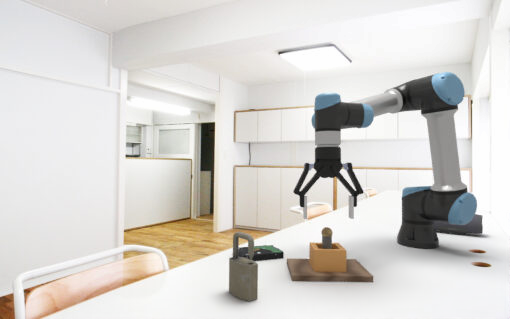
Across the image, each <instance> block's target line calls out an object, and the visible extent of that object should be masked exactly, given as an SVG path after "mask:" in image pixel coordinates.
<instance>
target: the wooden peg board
mask: <svg viewBox="0 0 510 319" xmlns="http://www.w3.org/2000/svg"><path fill="white" fill-rule="evenodd" d="M320 232H321V243H322V249H332V243H333V242H332V241H333V239H332V238H333V230H332V228H330V227H327V226H326V227H323V228H322V230H321V231H320ZM286 265H287V268H288V271H289V274H290V275H289V276H290V277H291V278H290V279H291V281H292V282H338V281H339V283H340V281H341V282H343V281H344V282H345V283H346V281H347V283H349V282H351V283H355V282H358V283H374V275H373V274H372V273H370V272H369V271H368V270H367V268H366V267H365V266H364V265H363V264H361V262H359V261H358V260H357V259H356V258H355V259H353V258H351V259H350V258H346V272H316V271H314V270H313V268H312V266H311V264H310V262H309V258H292V257H291V258H286Z"/></svg>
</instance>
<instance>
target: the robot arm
mask: <svg viewBox="0 0 510 319" xmlns="http://www.w3.org/2000/svg"><path fill="white" fill-rule="evenodd" d="M464 97H465V87H464V84H463V82H462V80H461V79H460V77H459V76H458V75H457V74H455V73H454V72H449V71H446V72H445V71H444V72H439V73H435V74H431V75H427V76H424V77H421V78H416V79H413V80H409V81H406V82H404V83H402V84H399V85H396V86H394V87H392V88H389V89H386V90H385V91H383V93H380V94H376V95H372V96H369V97H364V98H361V99H357V100H355V101H349V102H344V101H342V99H341V98H342V97H341V94H339V93H337V92H324V93H319V94H317V95H315V98H314V109H313V111H314V113H313V115H312V117H311V120H310V121H311V125H312V127H313V129H314V145H315V146H316V147H315V148H314V162H313V163H309V162H305V163H304V164H303V170H302V173H301V175H300V176H299V178H298V180H297V183H296V185H295V187H294V189H293V191H292V192H293V193H294V195H297V196H298V197H299V207H300V208H302V211H303V214H302V217H303V219H304V220H307V219H308V196H306V194H308V192H309V191H310V189H311V188H312V187H313V186H314V185H315V183H317V181H318V180H319V179H320V178H322V179H327V178H329V179H335V178H336V179H338V181H339V182H340V183H341V184H342V185H343V186H344V188H345V189H346V190H347V192H349V194H350V195H348V218H349V219H351V220H353V219H355V214H354V210H355V208H357V206H358V196H360V195H363V194H364V189H363V187H362V185H361V184H360V180H358V178H357V175H356V174H355V172H354V169H353V163H352V162H346V163H342V149H341V147H340V146H341V144H342V137H341V135H342V132H341V131H342V130H345V129H346V130H348V129H355V128H356V129H364V128H369V127H370V126H371V125H372V123H373V121H374V118H376V117H378V116H382V115H386V114H388V113H389V114H397V113H402V112H403V113H404V112H414V111H420V114H421V116H422V117H423V118H425V119H426V125H427V133H428V134H427V135H428V141H429V151H430V159H431V167H432V174H433V182H434V183H433V184H432V185H426V186H425V185H423V186H408V187H407V186H406V187H404V188H403V189H402V193H401V225H400V228H399V231H398V233H397V237H396V242H397V244H400V245H402V246H406V247H411V248H419V249H421V248H422V249H436V248H438V247H440V240H439V237H438V234H437V230H435V228H434V221H439V222H444V223H450V224H453V225H454V224H457V225H465V224H467V223H469V222H470V221H471V220H472V219H473V217H474V215H475V214H476V212H477V207H478V201H477V197H476V196H475V194H473V193H471V192H468V186H467V184H465V183H464V182H463V181H462V177H461V175H462V174H461V168H460V166H461V164H460V156H459V149H458V142H457V141H458V140H457V132H456V123H455V114H456V113H457V112H458V110H459V105H460V104H461V103H462V102H463V101H464ZM313 169H314V171H315V173H314V174H313V176H312V177H311V178H310V179H309V181H308V182H307V183H306V184H305V185H304V187H303V184H304V182H305V180H306V178H307V176H308V174H309V172H310V171H312V170H313ZM342 169H344V170H345V171H346V172H347V174H348V177H349V178H350V181H351V183H352V184H353V186H354V188H353V187H352V185H351V184H350V183H349V182H348V180H347V179H346V178H345V177H344V175H343V174H342V173H341V170H342ZM302 187H303V188H302ZM301 188H302V189H301Z"/></svg>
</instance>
